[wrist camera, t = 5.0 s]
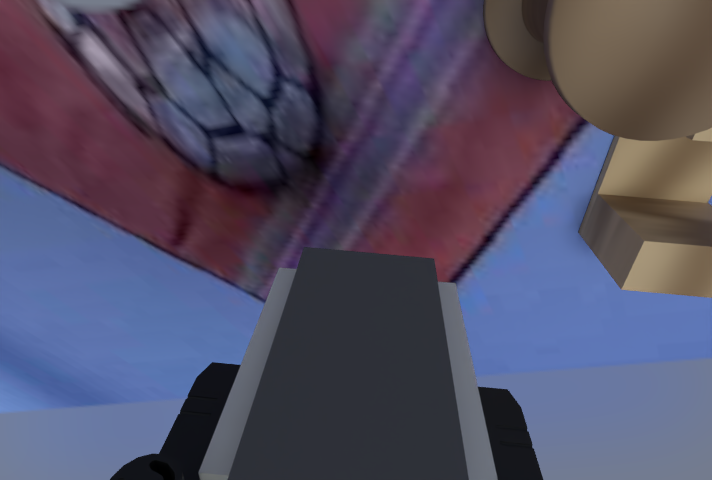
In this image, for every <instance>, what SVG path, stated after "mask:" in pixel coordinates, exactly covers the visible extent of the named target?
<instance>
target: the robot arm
mask: <svg viewBox="0 0 712 480" xmlns="http://www.w3.org/2000/svg"><path fill="white" fill-rule="evenodd" d="M296 270H297V269H288V268H279V269H278V272H277V274H276V277H275V279H274V282H273V285H272V287H271V290H270V292H269V295H268V297H267V300H266V302H265V305H264V307H263V310H262V312H261V315H260V318H259V320H258V323H257V325H256V328H255V330H254V333H253V335H252V338H251V340H250V343H249V346H248V348H247V351H246V353H245V356H244V358H243V361H242V363H241V365H235V364H224V363H214V362H212V363H211V364H210V365H209V366H208V367H207V368H206V369H205V370H204V371H203V372H202V373H201V374H200V375H199V376H198V377H197V378H196V380H195V382H194V384H193V386H192V388H191V390H190V392H189V394H188V398H187V399H186V400H185V402H184V404H183V406H182V408H181V410H180V414H178V416H177V418H176V420H175V422H174V424H173V427H172V429H171V431H170V433H169V435H168V437H167V439H166V441H165V443H164V445H163V447H162V449H161V451H160V453H159V454H149V455H146V456H142V457H138V458H136V459H134V460H133V461H131V462H129V463H127V464H126V465H124V466H123V467H122V468H121V469H120V470H119V471H118V472H117V473H116V474H114V476H112V478H111V479H110V480H227V479H228V476H229V473H230V470H231V467H232V464H233V461H234V458H235V455H236V452H237V449H238V446H239V443H240V440H241V437H242V434H243V431H244V428H245V425H246V422H247V419H248V416H249V413H250V410H251V407H252V404H253V401H254V398H255V394H256V391H257V388H258V385H259V382H260V379H261V376H262V373H263V370H264V367H265V364H266V361H267V358H268V355H269V352H270V349H271V346H272V343H273V340H274V337H275V334H276V331H277V328H278V325H279V322H280V319H281V316H282V313H283V310H284V307H285V304H286V300H287V297H288V294H289V291H290V288H291V285H292V282H293V279H294V276H295V273H296ZM438 287H439V293H440V300H441V306H442V312H443V319H444V325H445V331H446V338H447V344H448V350H449V357H450V363H451V369H452V376H453V382H454V388H455V395H456V401H457V407H458V414H459V420H460V426H461V433H462V439H463V445H464V452H465V458H466V464H467V471H468V477H469V480H543V477H542V474H541V471H540V468H539V464H538V461H537V458H536V455H535V451H534V449H533V448H532V441H531V438H530V436H529V432H527V425H526V422H525V419H524V415H523V412H522V409H521V407H520V405H519V404H518V403H517V401H516V400H515V399H514V398H513V396H512V395H511V393H510V392H509V391H508V390H507V389H496V388H486V387H478V386H477V381H476V376H475V372H474V367H473V362H472V358H471V353H470V349H469V344H468V339H467V335H466V330H465V325H464V321H463V316H462V311H461V307H460V302H459V297H458V293H457V288H456V283H446V282H438Z"/></svg>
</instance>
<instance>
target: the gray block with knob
mask: <svg viewBox="0 0 712 480" xmlns="http://www.w3.org/2000/svg"><path fill="white" fill-rule="evenodd" d="M227 480H469V477H468V471H467V464H466V458H465V452H464V445H463V439H462V433H461V426H460V420H459V414H458V407H457V401H456V395H455V388H454V382H453V376H452V369H451V363H450V357H449V350H448V344H447V338H446V331H445V325H444V319H443V312H442V306H441V300H440V293H439V287H438V281H437V274H436V268H435V262H434V259H432V258H421V257H409V256H398V255H387V254H376V253H365V252H354V251H343V250H331V249H320V248H309V247H304V249H303V252H302V255H301V258H300V261H299V264H298V267H297V270H296V273H295V276H294V279H293V282H292V285H291V288H290V291H289V294H288V297H287V300H286V304H285V307H284V310H283V313H282V316H281V319H280V322H279V325H278V328H277V331H276V334H275V337H274V340H273V343H272V346H271V349H270V352H269V355H268V358H267V361H266V364H265V367H264V370H263V373H262V376H261V379H260V382H259V385H258V388H257V391H256V394H255V398H254V401H253V404H252V407H251V410H250V413H249V416H248V419H247V422H246V425H245V428H244V431H243V434H242V437H241V440H240V443H239V446H238V449H237V452H236V455H235V458H234V461H233V464H232V467H231V470H230V473H229V476H228V479H227Z"/></svg>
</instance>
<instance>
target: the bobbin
mask: <svg viewBox="0 0 712 480" xmlns="http://www.w3.org/2000/svg"><path fill="white" fill-rule="evenodd" d="M483 18H484V26H485V30H486V34H487V37H488V40H489V42H490V45H491V46H492V48H493V50H494V52H495V53H496V54H497V55H498V57H499V58H500V59H501V60H502V61H503V62H504V63H505V64H506V65H508V66H509V67H510V68H512V69H513V70H515V71H516V72H518V73H520V74H522V75H524V76H526V77H530V78H533V79H538V80H552V82H553V84H554V86H555V88H556V90H557V92H558V93H559V95H560V96H561V97H562V99H563V100H564V101H565V103H566V104H567V105H568V106H569V107H570V108H571V109H572V110H573V111H574V112H576V113H577V114H578V115H580V116H581V117H582V118H584V119H585V120H587V121H588V122H590V123H591V124H593V125H594V126H596V127H597V128H599V129H601V130H603V131H605V132H607V133H609V134H612V135H615V136H618V137H622V138H625V139H632V140H639V141H661V140H670V139H676V138H681V137H685V136H690V135H693V134H696V133H699V132H702V131H705V130H708V129H710V128H712V0H484V4H483Z"/></svg>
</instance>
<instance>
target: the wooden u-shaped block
mask: <svg viewBox="0 0 712 480" xmlns="http://www.w3.org/2000/svg"><path fill="white" fill-rule="evenodd" d="M711 196H712V128H710V129H708V130H705V131H702V132H699V133H696V134H693V135H690V136H685V137H681V138H676V139H670V140H661V141H639V140H632V139H625V138H622V137H618V136H614V139H613V141H612V144H611V147H610V149H609V152H608V155H607V157H606V160H605V163H604V165H603V168H602V171H601V173H600V176H599V179H598V181H597V184H596V187H595V189H594V192H593V195H592V197H591V200H590V203H589V205H588V208H587V211H586V213H585V216H584V218H583V221H582V224H581V226H580V229H579V232H578V233H579V234H580V235H581V237H582V238H583V239H584V241H585V242H586V243H587V245H588V246H589V247H590V249H591V250H592V251H593V253H594V254H595V255H596V257H597V258H598V259H599V261H600V262H601V263H602V265H603V266H604V267H605V269H606V270H607V271H608V273H609V274H610V275H611V277H612V278H613V279H614V281H615V282H616V283H617V285H618V286H619V287H620V289H621V290H631V291H642V292H653V293H665V294H676V295H687V296H698V297H710V298H712V206H711V205H710V204H709V203H708V201H709V199H710V198H711Z"/></svg>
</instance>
